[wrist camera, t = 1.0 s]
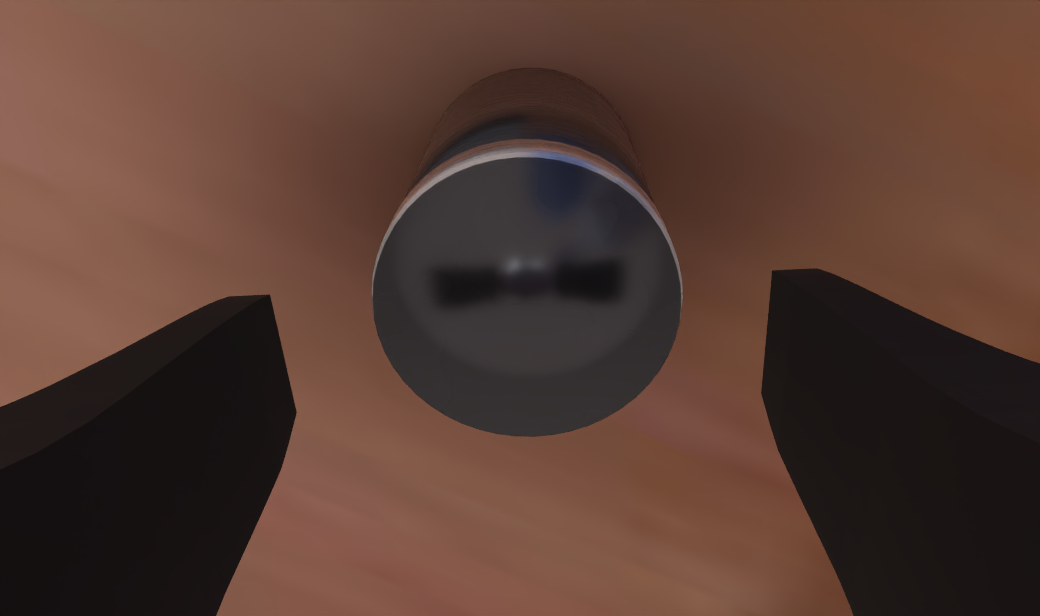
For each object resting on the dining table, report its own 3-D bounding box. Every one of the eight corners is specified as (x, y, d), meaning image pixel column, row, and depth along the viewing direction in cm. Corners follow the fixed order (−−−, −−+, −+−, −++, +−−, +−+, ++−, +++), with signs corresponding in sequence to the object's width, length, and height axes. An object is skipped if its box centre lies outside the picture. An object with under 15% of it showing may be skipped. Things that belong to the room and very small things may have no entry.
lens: (636, 58, 17) (690, 148, 11) (635, 264, 20) (679, 433, 13) (413, 72, 18) (346, 167, 11) (438, 273, 20) (391, 444, 14)
